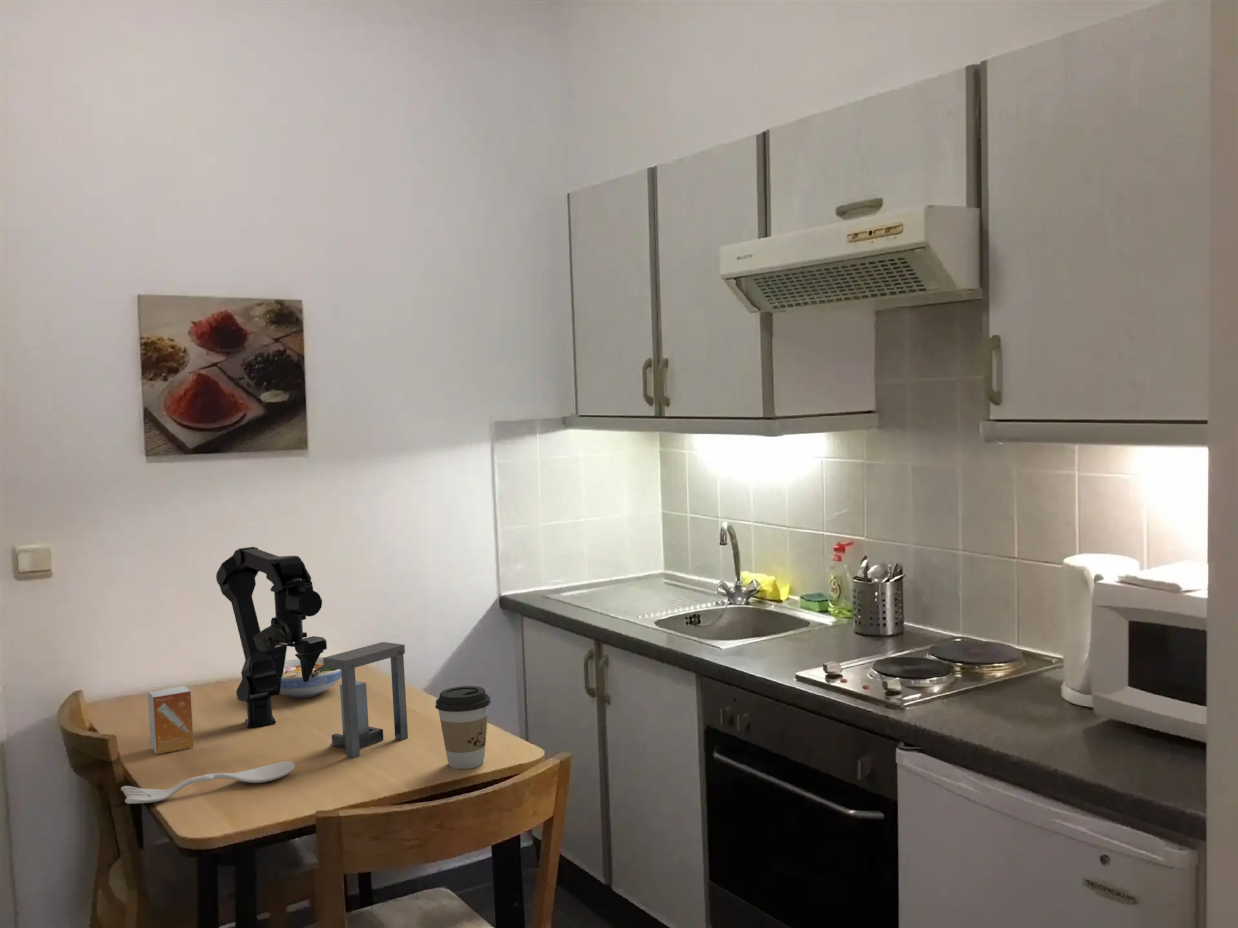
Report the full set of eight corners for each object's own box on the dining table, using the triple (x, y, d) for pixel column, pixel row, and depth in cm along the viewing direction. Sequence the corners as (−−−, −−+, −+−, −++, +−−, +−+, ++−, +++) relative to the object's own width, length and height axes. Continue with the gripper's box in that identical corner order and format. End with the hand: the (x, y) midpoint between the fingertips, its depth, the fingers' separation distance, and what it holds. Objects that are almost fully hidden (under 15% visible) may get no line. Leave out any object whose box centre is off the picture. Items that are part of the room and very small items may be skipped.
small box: (156, 755, 241) (152, 696, 240) (150, 748, 246) (146, 691, 245) (194, 747, 245) (191, 690, 245) (188, 741, 251) (184, 685, 250)
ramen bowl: (285, 682, 303) (283, 653, 302) (364, 681, 300) (363, 652, 299) (242, 707, 278) (240, 675, 278) (328, 707, 275) (326, 674, 275)
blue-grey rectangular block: (343, 742, 243) (339, 684, 242) (357, 737, 246) (353, 680, 246) (355, 745, 241) (352, 686, 240) (369, 740, 244) (366, 682, 243)
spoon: (121, 802, 212) (120, 784, 212) (289, 768, 228) (288, 752, 228) (126, 815, 205) (124, 797, 204) (299, 780, 220) (298, 763, 220)
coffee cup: (469, 775, 218) (465, 701, 217) (426, 768, 224) (422, 695, 223) (505, 758, 227) (501, 687, 226) (462, 751, 233) (459, 682, 233)
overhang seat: (313, 750, 239) (307, 655, 238) (372, 730, 253) (367, 639, 252) (350, 758, 232) (345, 660, 231) (409, 737, 246) (404, 644, 245)
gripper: (232, 615, 248) (237, 683, 249) (285, 621, 238) (290, 692, 238) (273, 606, 257) (277, 672, 258) (326, 612, 247) (330, 680, 247)
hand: (292, 679), depth 250 cm, fingers open, 9 cm apart
